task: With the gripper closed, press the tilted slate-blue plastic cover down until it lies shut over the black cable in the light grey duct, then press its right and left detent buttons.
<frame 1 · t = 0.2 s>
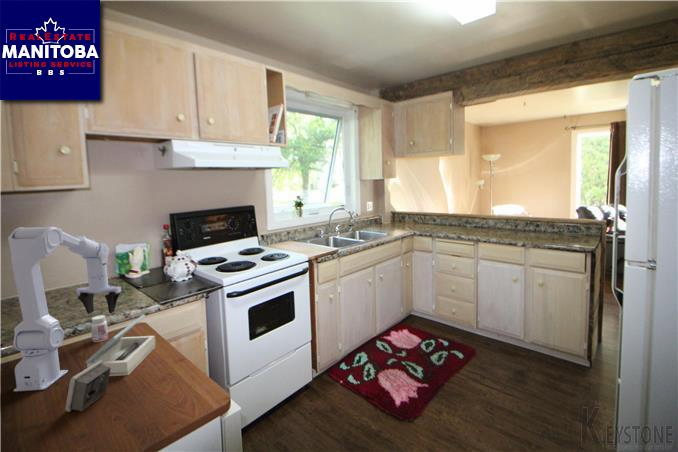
hand: (101, 312, 124), 10 cm above the counter, fingers open, 7 cm apart
pill bottle: (100, 340, 124), on the counter
electrical switch: (91, 402, 88), on the counter
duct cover: (117, 336, 107), point 8 cm above the counter, hinge at 40.0°
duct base: (124, 360, 108), on the counter
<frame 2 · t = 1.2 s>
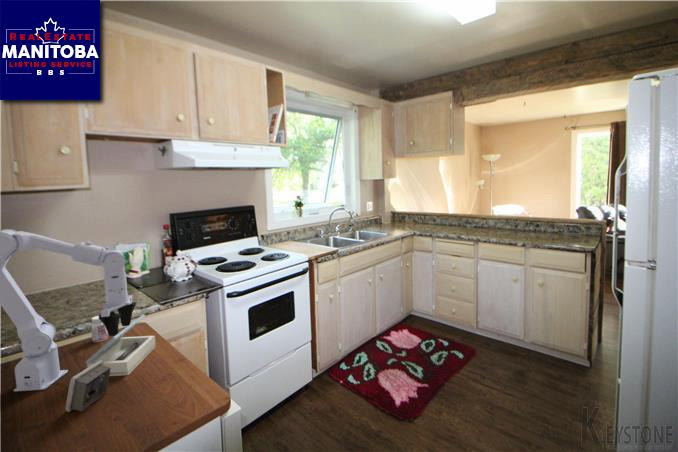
hand: (120, 330, 108), 10 cm above the counter
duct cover: (117, 336, 107), point 8 cm above the counter, hinge at 40.0°, touching gripper
everything else where it was.
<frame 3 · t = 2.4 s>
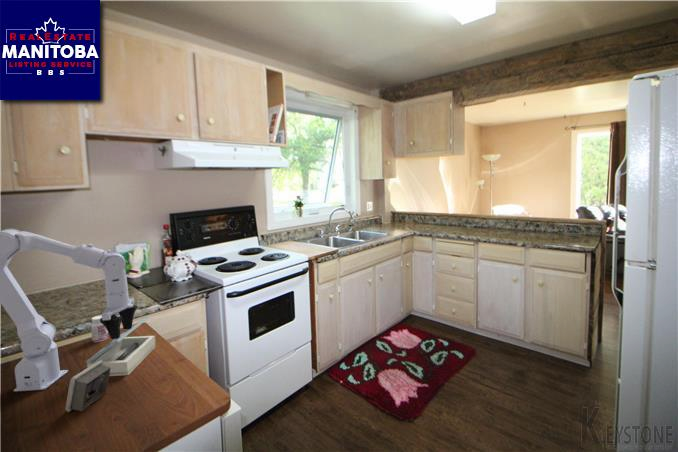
hand: (121, 333, 107), 9 cm above the counter, fingers closed on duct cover, 6 cm apart
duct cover: (118, 338, 107), point 8 cm above the counter, hinge at 33.2°, touching gripper
everything else where it was.
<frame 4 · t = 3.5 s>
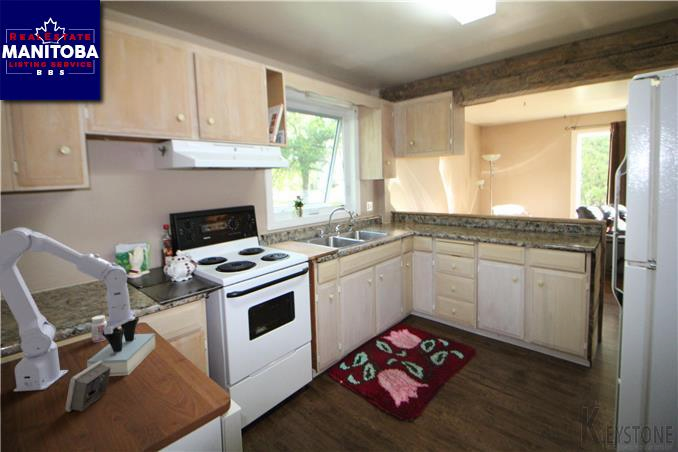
hand: (123, 346, 108), 5 cm above the counter, fingers closed on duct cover, 6 cm apart
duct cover: (123, 347, 108), point 5 cm above the counter, hinge at -0.6°, touching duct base, gripper
everything else where it was.
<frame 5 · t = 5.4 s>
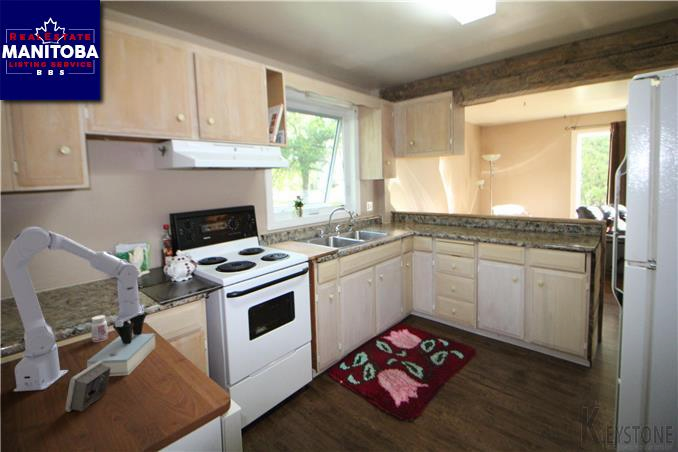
hand: (132, 338, 113), 5 cm above the counter, fingers closed on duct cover, 6 cm apart
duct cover: (123, 347, 108), point 5 cm above the counter, hinge at -0.6°, touching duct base, gripper
everything else where it was.
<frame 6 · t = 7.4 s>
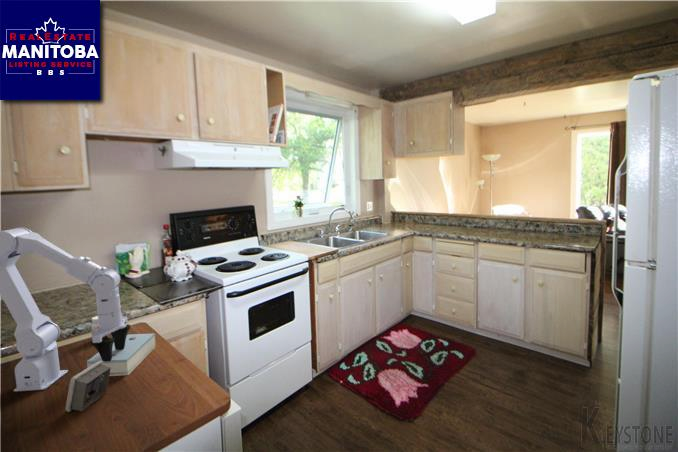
hand: (113, 355, 102), 5 cm above the counter
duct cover: (123, 347, 108), point 5 cm above the counter, hinge at -0.6°, touching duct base, gripper
everything else where it was.
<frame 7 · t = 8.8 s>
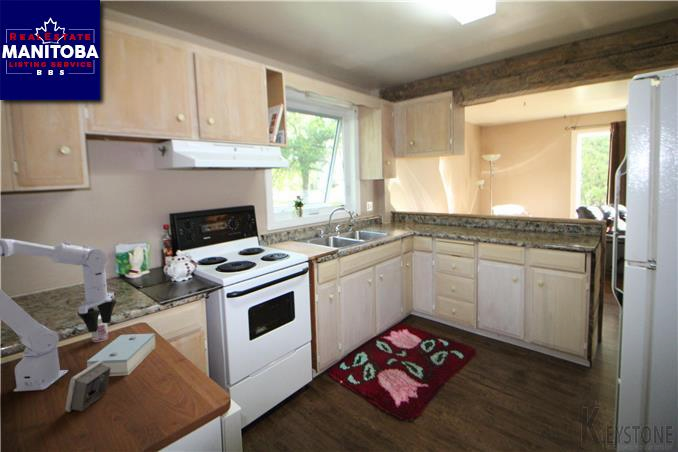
hand: (100, 327, 109), 10 cm above the counter, fingers open, 6 cm apart
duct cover: (123, 347, 108), point 5 cm above the counter, hinge at -0.6°, touching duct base
everything else where it was.
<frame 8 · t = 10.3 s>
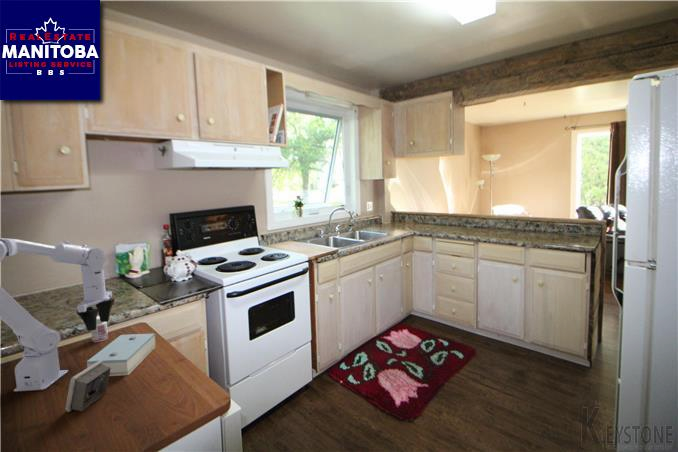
hand: (98, 325, 110), 10 cm above the counter, fingers open, 6 cm apart
nothing on the counter moved.
at the end: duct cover at -1° (first picture: +40°); the gripper is holding nothing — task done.
